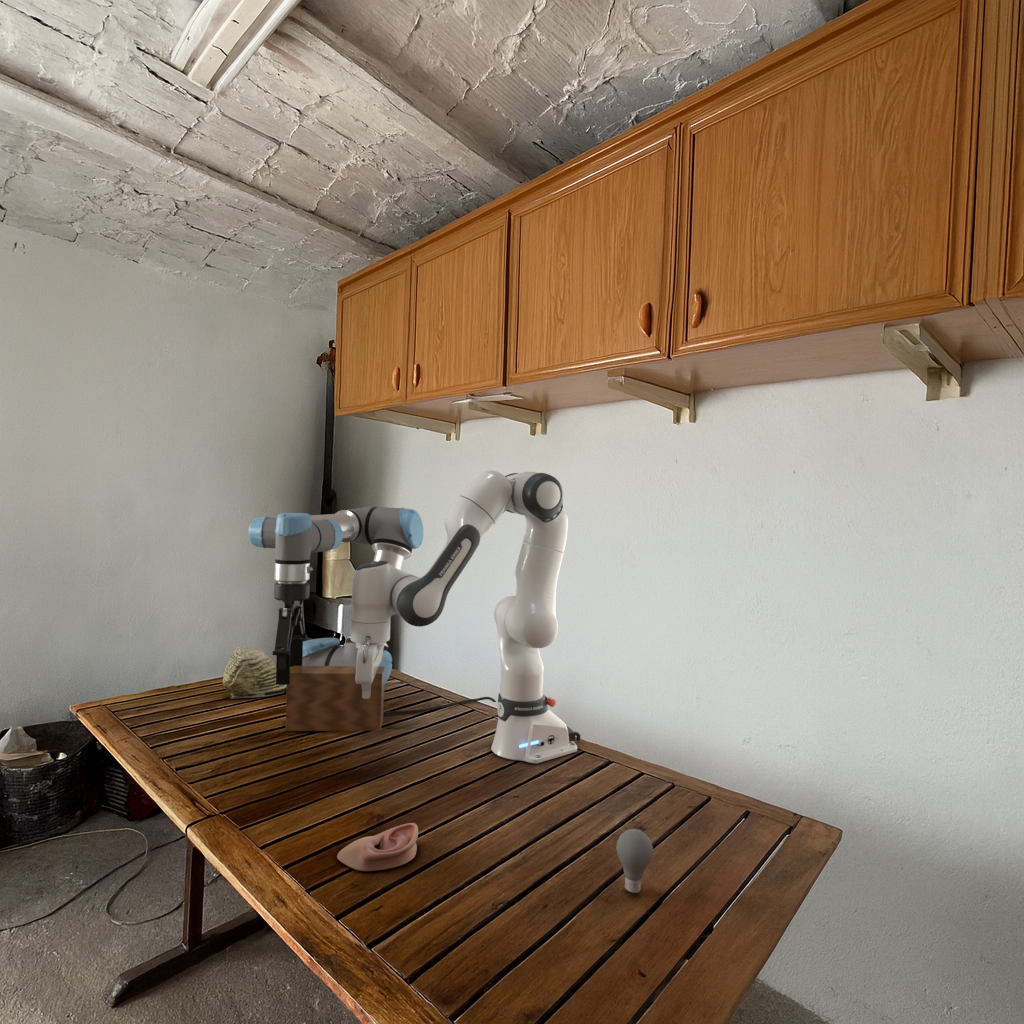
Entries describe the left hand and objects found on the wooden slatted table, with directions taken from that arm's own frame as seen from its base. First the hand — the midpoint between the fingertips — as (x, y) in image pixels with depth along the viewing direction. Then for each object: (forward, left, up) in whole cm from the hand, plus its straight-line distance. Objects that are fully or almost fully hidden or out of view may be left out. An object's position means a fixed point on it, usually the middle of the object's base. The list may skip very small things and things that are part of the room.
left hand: (289, 675), depth 143 cm
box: (-7, +8, -11) cm, 16 cm away
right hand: (-12, +13, -4) cm, 18 cm away
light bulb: (-15, +80, -23) cm, 84 cm away
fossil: (-24, -57, -23) cm, 66 cm away
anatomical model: (+7, +40, -23) cm, 47 cm away
